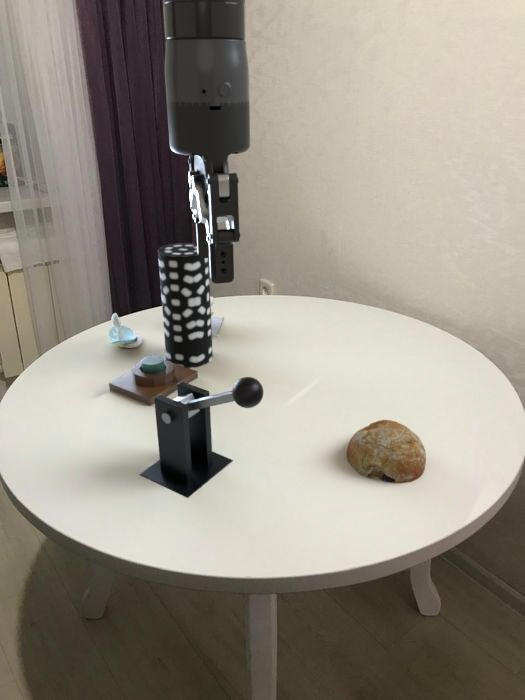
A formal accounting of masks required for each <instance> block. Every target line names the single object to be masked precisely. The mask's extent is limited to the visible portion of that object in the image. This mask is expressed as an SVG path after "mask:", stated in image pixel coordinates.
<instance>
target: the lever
mask: <svg viewBox="0 0 525 700" xmlns="http://www.w3.org/2000/svg"><path fill="white" fill-rule="evenodd" d="M263 397H264V388H263V385H262V383H261V381H259V380H258V379H257V378H255V377H252V376H243V377H241V378H238V380H237V381H236V382H234V384H233V386H232V389H231V390H229V391H223V392H220V393H216V394H211V395H210V396H207V397H203V398H199V399H195V398H194V396H193V394H192V393H190V394H186V395H182V396H178V395H177V396H176V397H175V398H172V399H173V400H175V401H178V402H181V403H183V404H186V405H188V418H190V417H192V416H193V415H195V414H196V413H197V412H199V411H200V409H202V408H206V407H210V408H211V407H214V406H219V405H223V404H229V403H232V402H235V404H236V405H238V406H239V407H241V408H244V409H251V408H255V407H257V406H258V405H259V404H261V402H262V400H263Z"/></svg>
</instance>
